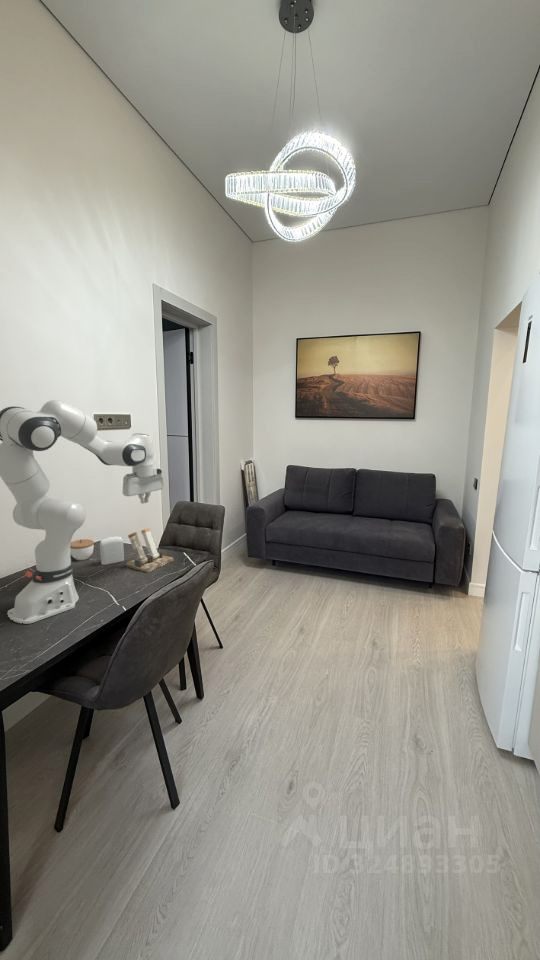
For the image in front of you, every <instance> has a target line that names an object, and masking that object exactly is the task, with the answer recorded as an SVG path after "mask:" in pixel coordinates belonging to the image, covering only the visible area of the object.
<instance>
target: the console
mask: <svg viewBox="0 0 540 960" xmlns="http://www.w3.org/2000/svg"><path fill="white" fill-rule="evenodd" d="M127 537H128V539H129V541H130V544H131V546H132V549H133V551H134V554H135V556H136V558H135V559H133V560H132V559H131V560H129V561H127V562H125V567H127V568H129V569H130V568H131V569H133V568H134V569H133V570H137V571H140V570H141V571H140V572H143V571H144V573H150V572H152V570H153V571H155V570H156V568H157V569H159V568H161V567H163V565H164V566H166V565H168V564H170V563H172V562H174V557H171V556H167V555H164V553H163V551H160V550H157V552H158V553H159V555H160V556H159V557H158V558H156V559H153V556H152V555H150V554H149V553H147V554H145V551H144V549H143V547H142V543H141V541H140V538H139V536H138V532H132V533H130V534H127ZM171 561H172V562H171ZM169 562H170V563H169ZM167 563H168V564H167ZM165 564H166V565H165ZM160 566H161V567H160ZM158 567H159V568H158ZM154 569H155V570H154Z"/></svg>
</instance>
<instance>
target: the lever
mask: <svg viewBox="0 0 540 960" xmlns="http://www.w3.org/2000/svg"><path fill="white" fill-rule="evenodd" d="M140 532H141V534H142V536H143V540H144V543H145V546H146V548H147V551H148V554H150V555H152V556H153V559H156V558H158V557H159V556H160V555H159V553H158V552H157V551H158V549H157V547H156V543H155V541H154V539H153V535H152V533H151V528H150V527H149V528H145V529H142V530H140Z"/></svg>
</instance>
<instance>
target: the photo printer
mask: <svg viewBox="0 0 540 960" xmlns="http://www.w3.org/2000/svg"><path fill="white" fill-rule="evenodd" d="M99 542H100V543H99V552H100V564H101V566H106V565H112V564H116V563H120V562H121V563H122V562H124V561H125V552H124V551H125V550H124V540H123V538H122V537H121V536H110V537H106V538H103V539H101V540H100V541H99Z"/></svg>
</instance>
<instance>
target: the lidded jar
mask: <svg viewBox="0 0 540 960" xmlns="http://www.w3.org/2000/svg"><path fill="white" fill-rule="evenodd" d="M94 543H95V542H94V540H92V539H85V538H83V539H82V538H81V539H77V540H73V541H71V544H70V554H71V558H74V559H75V561H85V560H88V559H89V558H90V557H91V556H92V555H93V553H94V548H95V545H94Z"/></svg>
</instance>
